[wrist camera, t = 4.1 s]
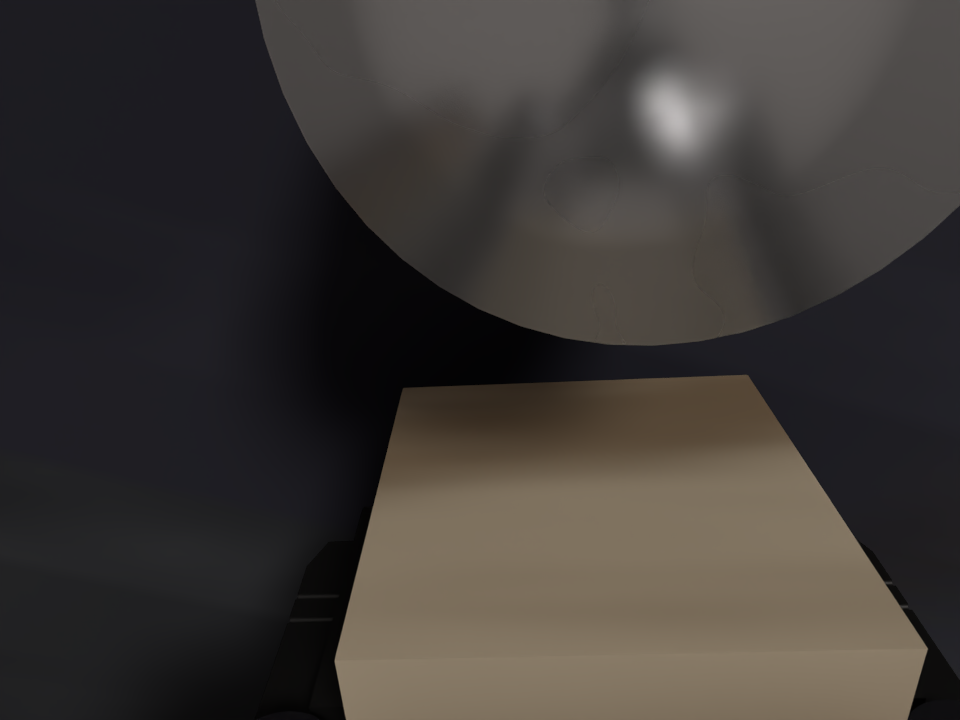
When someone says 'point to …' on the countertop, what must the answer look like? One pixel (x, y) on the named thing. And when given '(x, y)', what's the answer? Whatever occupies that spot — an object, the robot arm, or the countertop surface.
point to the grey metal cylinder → (632, 148)
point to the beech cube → (613, 565)
